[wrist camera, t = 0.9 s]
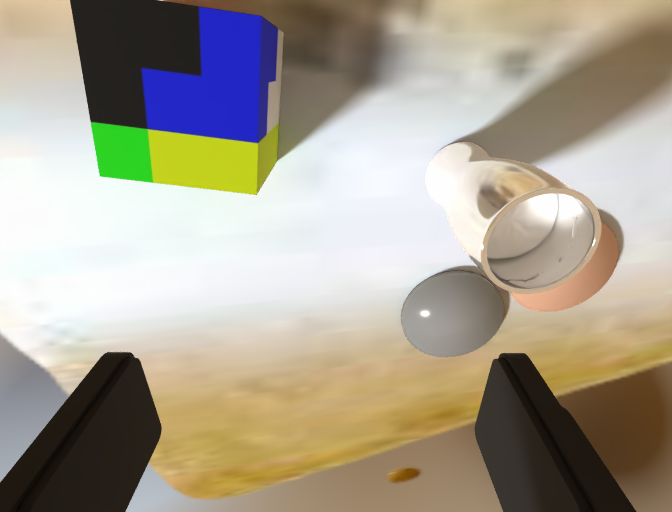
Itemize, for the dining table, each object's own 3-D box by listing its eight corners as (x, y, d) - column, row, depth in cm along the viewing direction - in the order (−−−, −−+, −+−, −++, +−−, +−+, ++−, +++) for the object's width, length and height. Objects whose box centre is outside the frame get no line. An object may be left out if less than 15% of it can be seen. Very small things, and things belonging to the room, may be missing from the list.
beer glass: (434, 128, 32) (508, 171, 18) (508, 145, 32) (632, 198, 19) (410, 203, 35) (459, 286, 21) (478, 217, 35) (567, 306, 22)
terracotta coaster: (596, 191, 34) (603, 195, 34) (622, 276, 39) (629, 281, 38) (486, 247, 37) (490, 252, 36) (522, 321, 41) (527, 327, 40)
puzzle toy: (283, 32, 28) (261, 15, 20) (277, 161, 33) (256, 194, 24) (152, 13, 28) (67, -14, 19) (164, 146, 32) (99, 176, 23)
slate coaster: (477, 252, 37) (481, 257, 36) (514, 325, 42) (518, 331, 41) (383, 301, 40) (384, 306, 39) (427, 364, 44) (429, 370, 43)
